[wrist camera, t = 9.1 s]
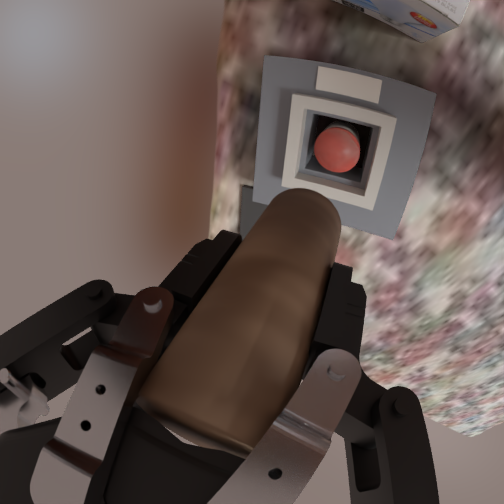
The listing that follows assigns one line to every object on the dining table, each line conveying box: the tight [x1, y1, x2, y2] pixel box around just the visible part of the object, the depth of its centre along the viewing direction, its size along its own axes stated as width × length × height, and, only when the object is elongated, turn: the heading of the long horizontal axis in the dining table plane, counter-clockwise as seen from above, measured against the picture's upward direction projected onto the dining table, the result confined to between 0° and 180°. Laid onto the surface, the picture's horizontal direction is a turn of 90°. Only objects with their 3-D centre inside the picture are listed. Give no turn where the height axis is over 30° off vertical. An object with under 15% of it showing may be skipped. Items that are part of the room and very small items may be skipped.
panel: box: [252, 55, 436, 240], centre depth 22 cm, size 14×14×6 cm
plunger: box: [314, 121, 360, 173], centre depth 22 cm, size 4×4×4 cm
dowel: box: [136, 188, 341, 459], centre depth 9 cm, size 4×4×10 cm
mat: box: [240, 185, 268, 241], centre depth 33 cm, size 9×9×1 cm
